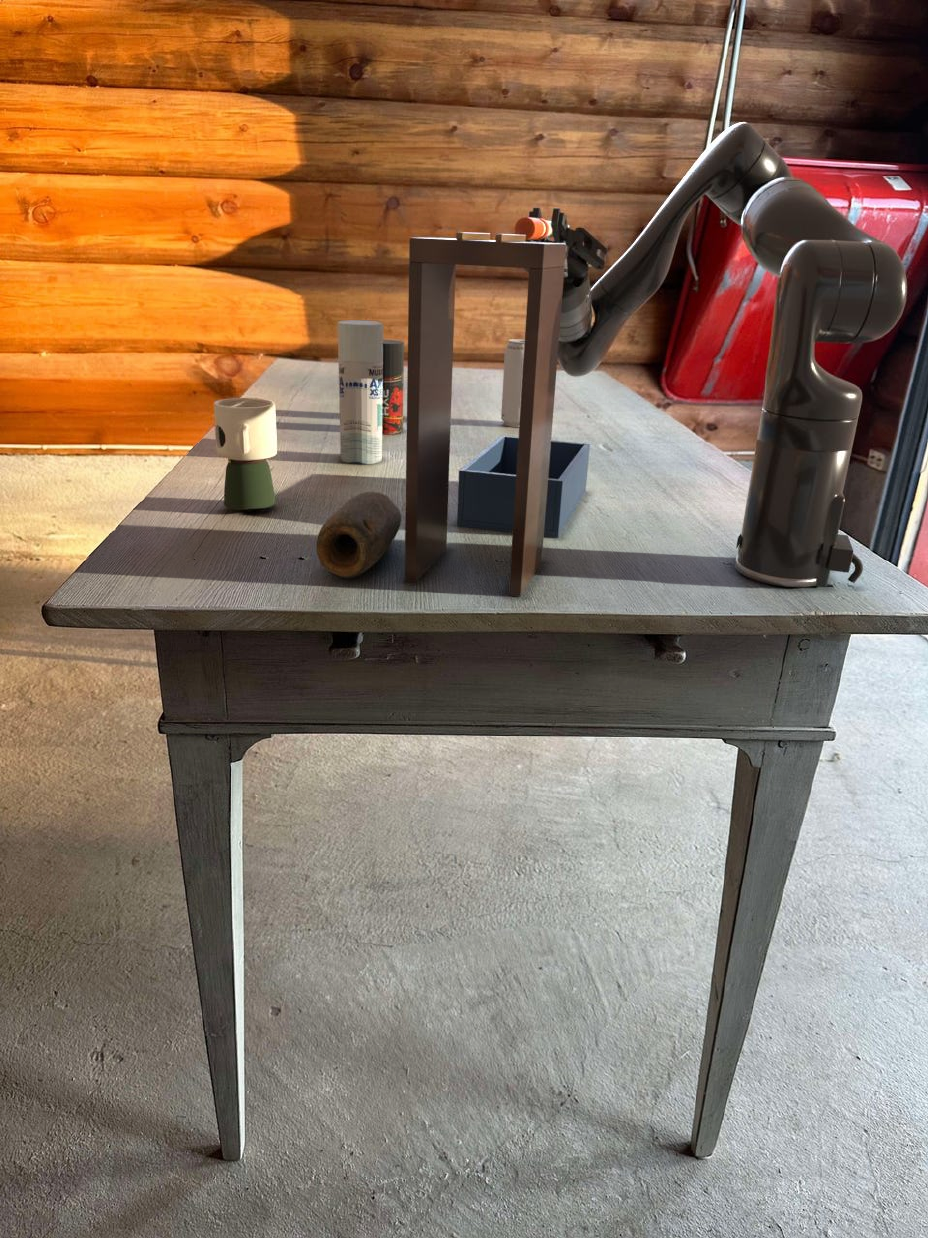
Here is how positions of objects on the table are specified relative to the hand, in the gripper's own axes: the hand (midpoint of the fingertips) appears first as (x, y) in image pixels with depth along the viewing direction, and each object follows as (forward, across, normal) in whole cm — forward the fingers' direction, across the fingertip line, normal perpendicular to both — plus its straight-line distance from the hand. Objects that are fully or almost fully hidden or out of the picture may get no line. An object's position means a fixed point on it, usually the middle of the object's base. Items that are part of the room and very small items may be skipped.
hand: (545, 215), depth 105 cm
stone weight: (+6, -12, +44) cm, 46 cm away
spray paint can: (-31, -29, +23) cm, 48 cm away
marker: (+1, 0, +2) cm, 2 cm away
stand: (+5, 0, +43) cm, 43 cm away
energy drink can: (-64, -13, +4) cm, 65 cm away
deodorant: (-50, -33, +12) cm, 61 cm away
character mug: (-5, -32, +37) cm, 49 cm away
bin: (-17, 0, +30) cm, 35 cm away
